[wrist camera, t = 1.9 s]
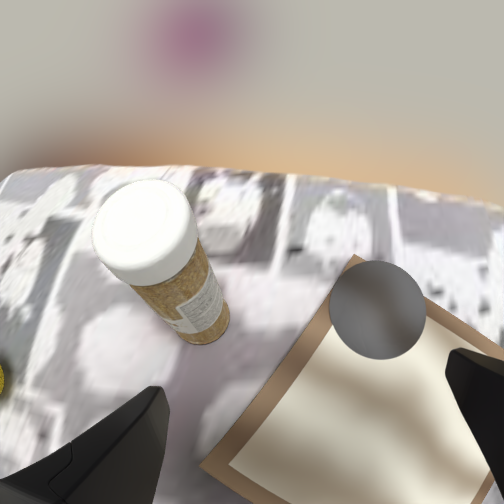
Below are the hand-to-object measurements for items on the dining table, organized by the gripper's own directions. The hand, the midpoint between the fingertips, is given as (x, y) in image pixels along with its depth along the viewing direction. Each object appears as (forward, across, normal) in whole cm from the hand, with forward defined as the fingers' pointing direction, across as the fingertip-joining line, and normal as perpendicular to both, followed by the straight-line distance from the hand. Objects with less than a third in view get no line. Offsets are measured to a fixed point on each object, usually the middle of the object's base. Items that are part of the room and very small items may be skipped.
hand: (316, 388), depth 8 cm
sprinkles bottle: (+15, +6, +4) cm, 17 cm away
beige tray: (+7, -8, +12) cm, 16 cm away
